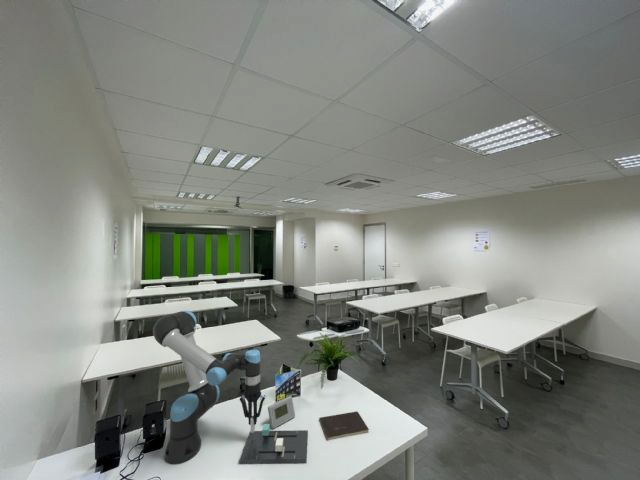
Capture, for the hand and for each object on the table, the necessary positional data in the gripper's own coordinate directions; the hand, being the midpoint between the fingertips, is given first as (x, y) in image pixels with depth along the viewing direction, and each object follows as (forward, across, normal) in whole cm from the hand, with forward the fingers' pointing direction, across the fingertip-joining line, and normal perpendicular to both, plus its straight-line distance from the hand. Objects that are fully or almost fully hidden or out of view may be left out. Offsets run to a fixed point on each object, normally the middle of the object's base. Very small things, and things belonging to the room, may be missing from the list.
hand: (252, 430), depth 126 cm
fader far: (+3, +7, 0) cm, 7 cm away
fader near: (+3, +15, -10) cm, 18 cm away
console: (+5, +13, -5) cm, 14 cm away
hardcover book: (+6, +47, +10) cm, 48 cm away
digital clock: (+5, +13, +14) cm, 20 cm away
